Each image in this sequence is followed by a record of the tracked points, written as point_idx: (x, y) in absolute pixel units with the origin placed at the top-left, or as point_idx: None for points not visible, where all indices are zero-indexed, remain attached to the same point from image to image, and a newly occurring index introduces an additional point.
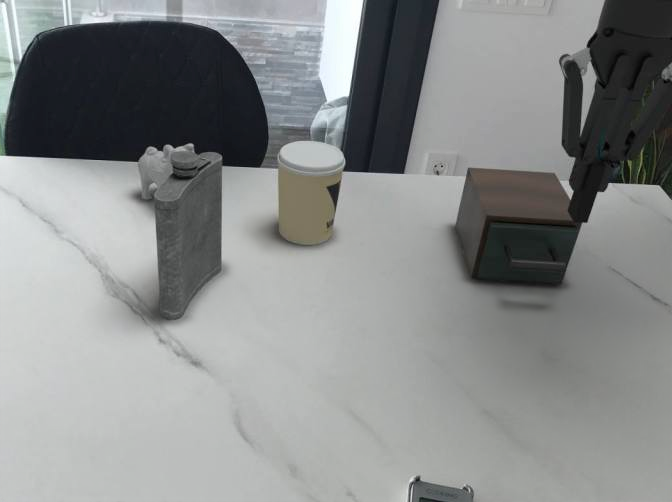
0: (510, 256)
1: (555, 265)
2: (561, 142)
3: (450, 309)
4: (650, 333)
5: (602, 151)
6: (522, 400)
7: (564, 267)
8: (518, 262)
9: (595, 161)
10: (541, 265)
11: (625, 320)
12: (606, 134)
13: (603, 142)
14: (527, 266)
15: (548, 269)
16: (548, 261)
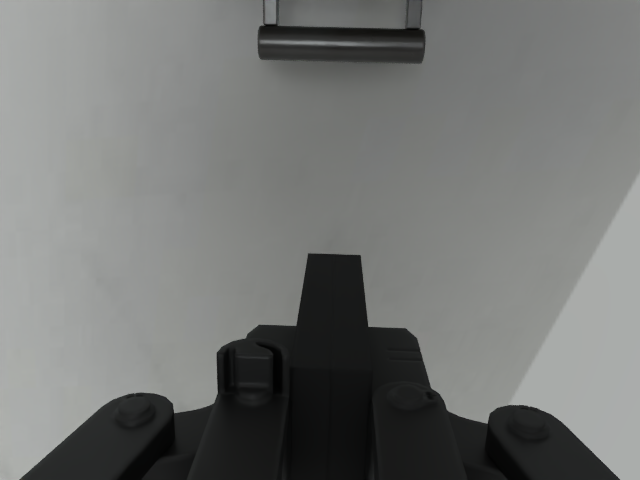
0: (266, 8)
1: (391, 58)
2: (97, 412)
3: (148, 89)
4: (612, 155)
5: (371, 427)
6: None
7: (418, 61)
8: (279, 54)
9: (326, 442)
10: (349, 58)
11: (576, 104)
12: (378, 478)
13: (374, 436)
14: (308, 60)
15: (371, 62)
16: (372, 46)
